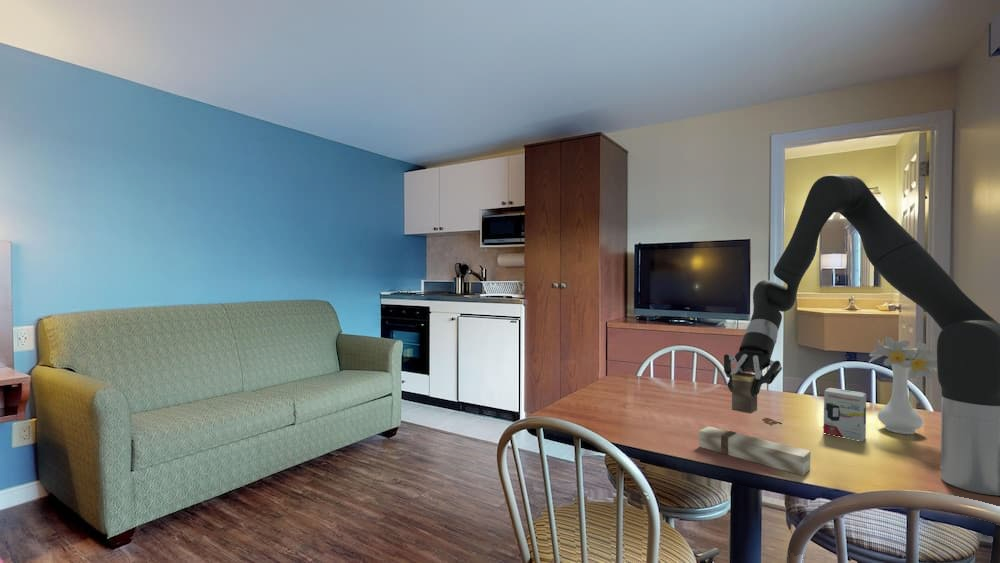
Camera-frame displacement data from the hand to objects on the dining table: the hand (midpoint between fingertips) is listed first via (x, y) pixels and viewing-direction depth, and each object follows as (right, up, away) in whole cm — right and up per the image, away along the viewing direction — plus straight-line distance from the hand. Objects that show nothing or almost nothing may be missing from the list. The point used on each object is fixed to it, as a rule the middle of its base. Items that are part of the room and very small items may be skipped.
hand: (741, 392), depth 114 cm
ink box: (+30, -13, +6) cm, 33 cm away
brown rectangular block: (+1, -5, +1) cm, 5 cm away
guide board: (-3, -13, -9) cm, 16 cm away
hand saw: (+16, -13, +26) cm, 33 cm away
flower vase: (+49, -13, +9) cm, 51 cm away
